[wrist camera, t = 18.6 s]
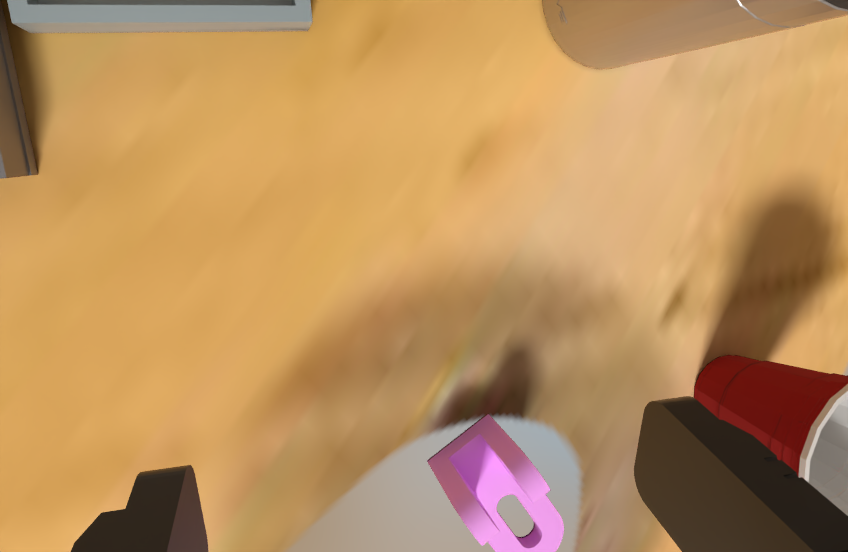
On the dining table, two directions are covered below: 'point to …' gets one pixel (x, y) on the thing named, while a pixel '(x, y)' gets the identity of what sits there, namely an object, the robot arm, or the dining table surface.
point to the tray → (160, 15)
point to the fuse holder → (12, 116)
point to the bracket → (496, 488)
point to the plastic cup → (786, 415)
